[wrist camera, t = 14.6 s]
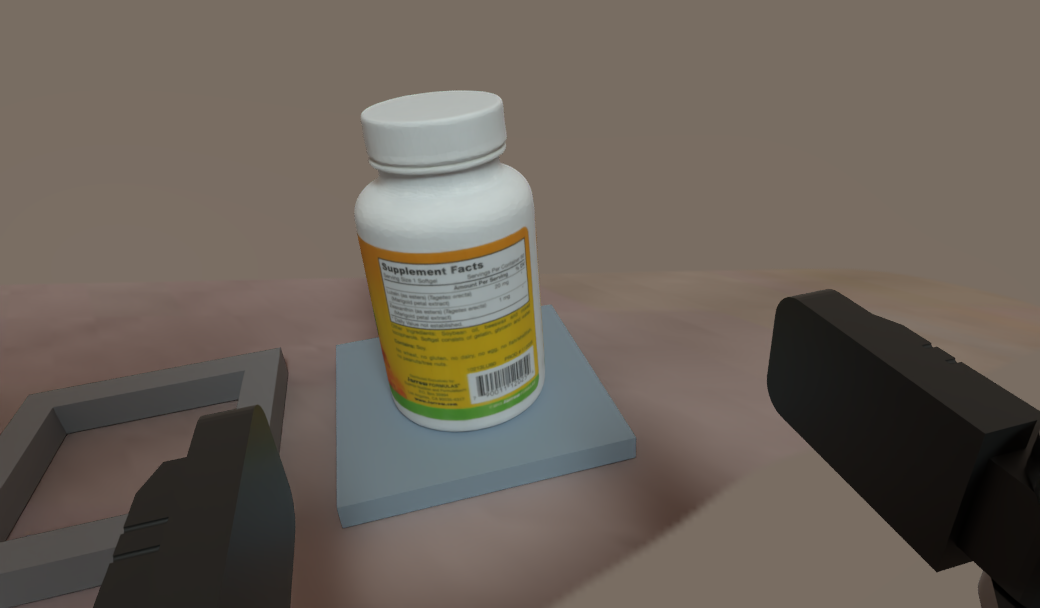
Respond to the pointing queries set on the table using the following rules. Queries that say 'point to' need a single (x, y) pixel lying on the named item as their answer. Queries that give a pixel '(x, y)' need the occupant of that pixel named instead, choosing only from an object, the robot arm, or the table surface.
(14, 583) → the collar
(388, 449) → the board
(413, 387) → the supplement bottle
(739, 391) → the table surface
